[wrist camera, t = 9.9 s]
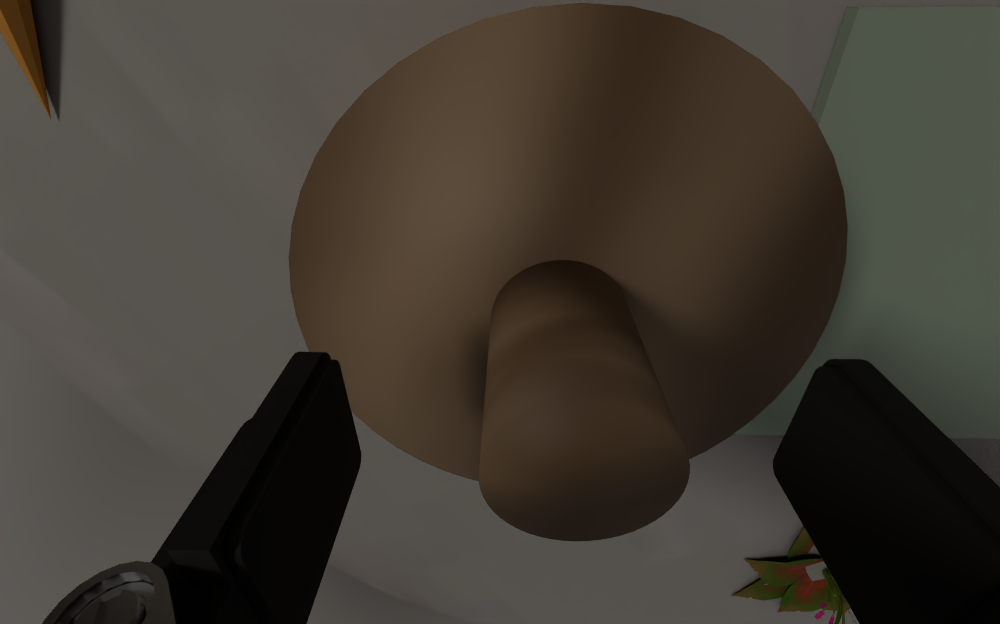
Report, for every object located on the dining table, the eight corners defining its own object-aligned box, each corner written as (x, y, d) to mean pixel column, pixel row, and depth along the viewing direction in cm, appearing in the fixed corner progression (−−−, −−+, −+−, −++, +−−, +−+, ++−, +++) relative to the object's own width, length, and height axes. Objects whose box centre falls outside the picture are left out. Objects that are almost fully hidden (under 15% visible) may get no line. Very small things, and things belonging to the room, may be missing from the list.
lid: (931, 1, 9) (1452, -21, 4) (739, 469, 17) (838, 666, 12) (233, 7, 9) (-88, -6, 4) (354, 463, 17) (286, 652, 12)
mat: (1461, 5, 14) (1497, 4, 13) (1065, 431, 23) (1077, 440, 23) (846, 7, 14) (859, 7, 14) (707, 425, 24) (711, 434, 23)
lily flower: (966, 525, 29) (1037, 605, 25) (845, 616, 35) (887, 690, 31) (790, 493, 27) (835, 572, 23) (698, 593, 34) (722, 668, 30)
